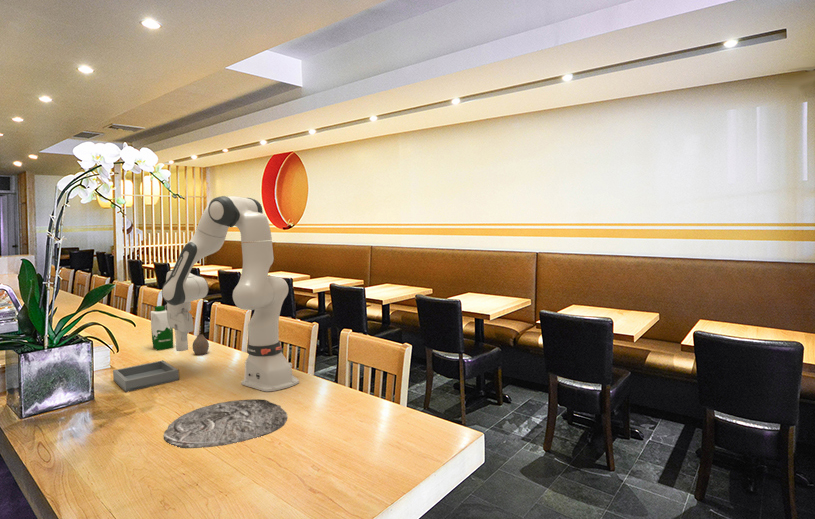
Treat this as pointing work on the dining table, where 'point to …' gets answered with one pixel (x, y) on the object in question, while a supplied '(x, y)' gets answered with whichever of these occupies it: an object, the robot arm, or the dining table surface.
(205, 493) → the dining table surface
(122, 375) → the tray
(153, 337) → the milk carton
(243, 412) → the worn metal disc
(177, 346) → the shaker
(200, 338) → the vase
